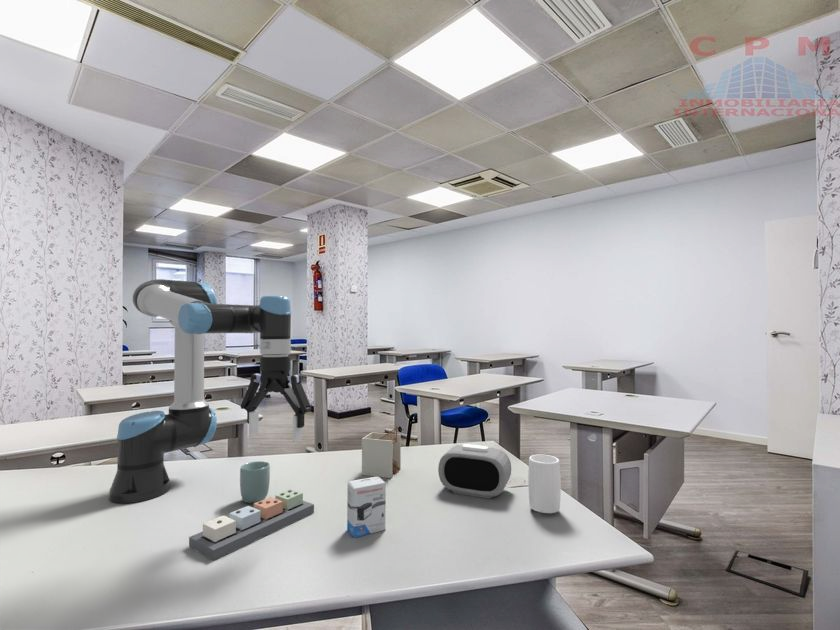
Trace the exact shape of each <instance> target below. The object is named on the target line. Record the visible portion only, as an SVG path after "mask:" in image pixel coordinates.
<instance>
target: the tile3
mask: <svg viewBox="0 0 840 630" xmlns="http://www.w3.org/2000/svg"><path fill="white" fill-rule="evenodd" d="M253 508H255V509H258V510H260V511H261V518H263V520H269V519H270V518H274V517H273V516H275V515H277V514H279V513H282V512H283V501H280V500H277V499H275V497H271V496H269V497H266V498H265V499H264V500H262V501H259V502H256V503H253Z"/></svg>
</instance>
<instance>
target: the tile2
mask: <svg viewBox="0 0 840 630" xmlns="http://www.w3.org/2000/svg"><path fill="white" fill-rule="evenodd" d="M260 517H261V511H260V510H258V509H255V508H254V506H253V507H252V506H250V505H247V506H243V507H242V508H239V509H237V510H235V511H231V512H229V518H231V519H233V520H235V521H236V528H238V529H240V530H239V531H243V530H246V529H249V528H251V527H250V526H252V525H255V524H257V523H259V522H260Z"/></svg>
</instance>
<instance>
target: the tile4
mask: <svg viewBox="0 0 840 630" xmlns="http://www.w3.org/2000/svg"><path fill="white" fill-rule="evenodd" d="M274 496H275V497H274V498H275V499H277V500H280V501H283V509H286V510H285V511H288V510H289V511H290V509H291V510H292V509H293V507H295V506H298V505H300V504H302V503H303V501H304V499H303V496H304V495H303V492H300V491H297V490H295V489H291V488H290V489H288V490H285V491H282V492H279V493H277V494H275V495H274Z"/></svg>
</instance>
